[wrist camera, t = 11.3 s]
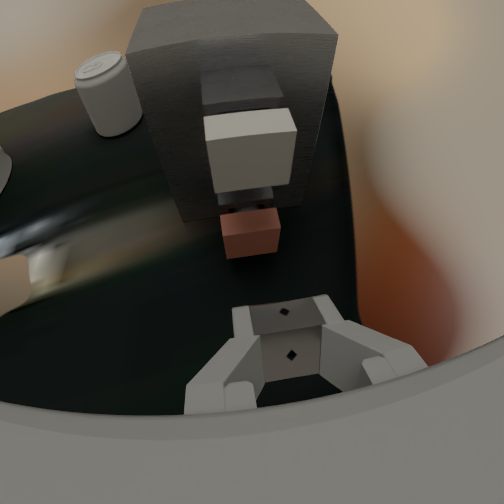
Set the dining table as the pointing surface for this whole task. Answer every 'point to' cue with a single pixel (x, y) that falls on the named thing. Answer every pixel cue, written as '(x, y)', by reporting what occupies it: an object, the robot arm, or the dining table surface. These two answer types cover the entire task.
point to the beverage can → (108, 93)
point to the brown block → (250, 231)
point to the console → (229, 88)
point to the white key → (250, 148)
